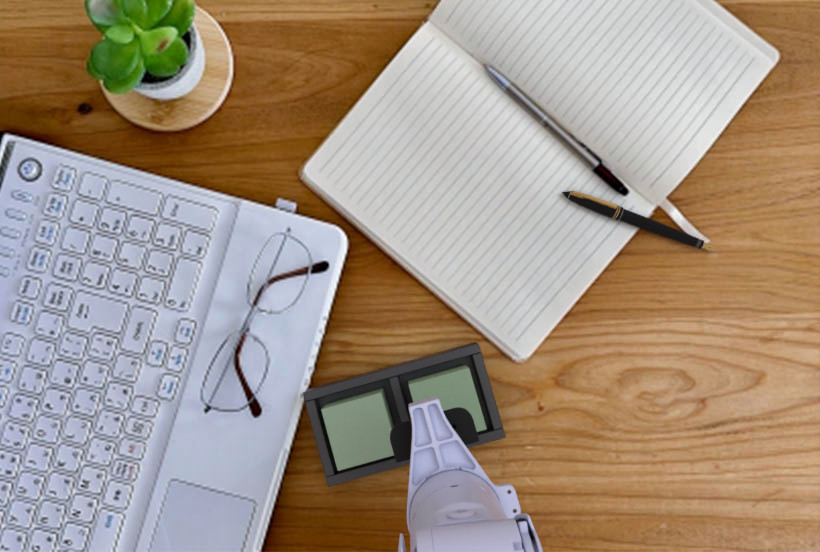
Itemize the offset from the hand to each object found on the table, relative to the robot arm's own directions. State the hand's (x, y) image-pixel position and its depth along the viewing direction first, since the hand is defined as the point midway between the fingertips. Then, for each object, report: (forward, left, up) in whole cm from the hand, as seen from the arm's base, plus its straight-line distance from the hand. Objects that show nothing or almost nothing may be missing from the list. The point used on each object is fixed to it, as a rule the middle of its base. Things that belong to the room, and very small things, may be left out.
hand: (448, 486), depth 60 cm
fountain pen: (+15, -22, -11) cm, 29 cm away
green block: (+5, -2, -10) cm, 11 cm away
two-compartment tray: (+5, +2, -10) cm, 12 cm away
